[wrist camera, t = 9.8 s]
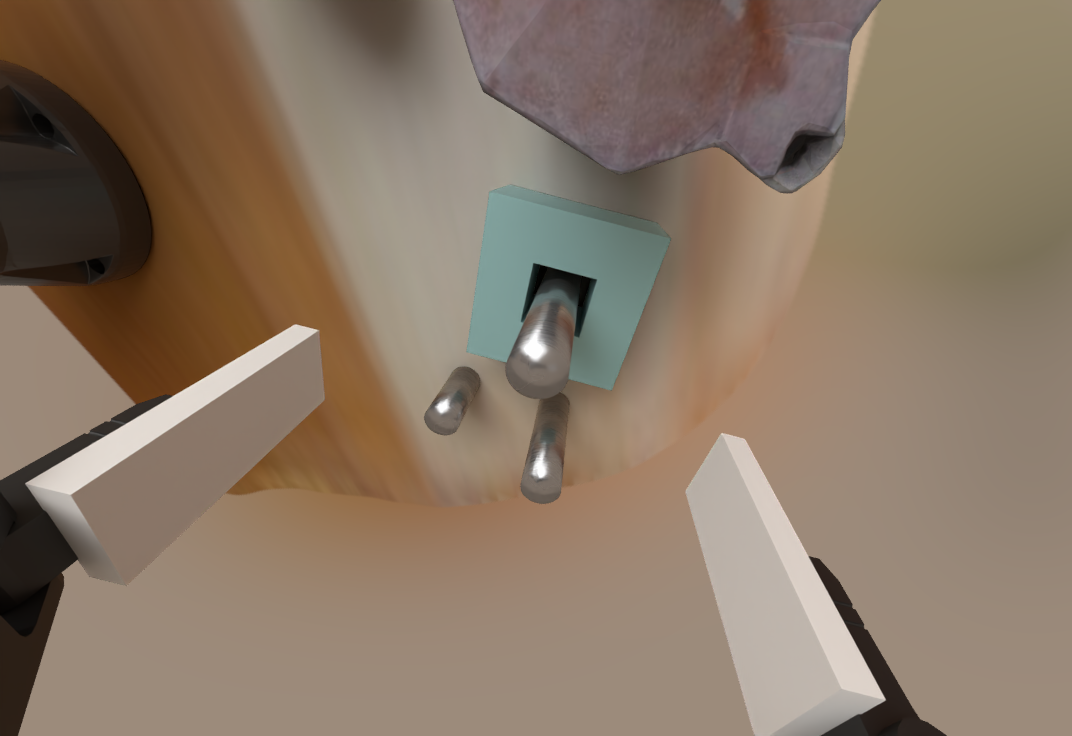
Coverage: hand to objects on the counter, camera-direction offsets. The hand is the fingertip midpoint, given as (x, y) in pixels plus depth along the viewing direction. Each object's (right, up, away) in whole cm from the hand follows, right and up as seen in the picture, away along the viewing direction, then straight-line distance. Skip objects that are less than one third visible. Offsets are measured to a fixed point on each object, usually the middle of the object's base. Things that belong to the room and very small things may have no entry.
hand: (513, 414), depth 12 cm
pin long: (+3, +8, +15) cm, 17 cm away
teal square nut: (+3, +8, +15) cm, 17 cm away
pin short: (-5, 0, +21) cm, 21 cm away
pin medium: (+2, -2, +20) cm, 21 cm away
